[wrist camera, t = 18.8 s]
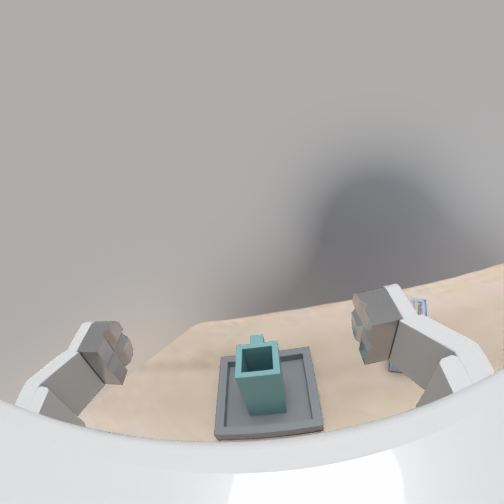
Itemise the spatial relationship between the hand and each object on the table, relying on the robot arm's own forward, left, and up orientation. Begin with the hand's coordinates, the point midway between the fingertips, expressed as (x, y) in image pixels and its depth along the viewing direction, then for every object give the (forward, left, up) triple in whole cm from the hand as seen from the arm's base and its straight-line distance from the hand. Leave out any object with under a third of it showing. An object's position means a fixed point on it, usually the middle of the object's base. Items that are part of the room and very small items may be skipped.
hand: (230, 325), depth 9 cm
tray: (+2, -15, -30) cm, 34 cm away
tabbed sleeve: (+2, -14, -29) cm, 33 cm away
